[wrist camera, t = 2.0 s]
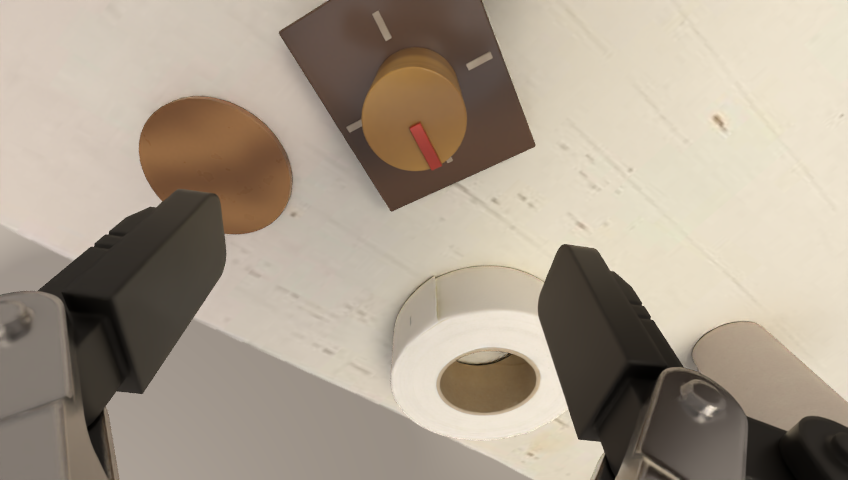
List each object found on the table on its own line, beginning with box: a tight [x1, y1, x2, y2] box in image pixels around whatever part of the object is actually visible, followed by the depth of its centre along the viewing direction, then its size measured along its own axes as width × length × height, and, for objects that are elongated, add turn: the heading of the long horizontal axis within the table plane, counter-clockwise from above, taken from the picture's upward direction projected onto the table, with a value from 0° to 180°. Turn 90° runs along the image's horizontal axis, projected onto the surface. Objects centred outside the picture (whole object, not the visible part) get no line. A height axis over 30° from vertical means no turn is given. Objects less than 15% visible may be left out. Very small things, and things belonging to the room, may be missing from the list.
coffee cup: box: [692, 322, 848, 431], centre depth 32 cm, size 10×10×15 cm
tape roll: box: [391, 266, 568, 440], centre depth 35 cm, size 16×16×6 cm
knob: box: [361, 47, 467, 171], centre depth 21 cm, size 5×5×6 cm
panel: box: [279, 0, 535, 211], centre depth 24 cm, size 12×10×3 cm
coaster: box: [139, 96, 292, 234], centre depth 29 cm, size 10×10×1 cm
